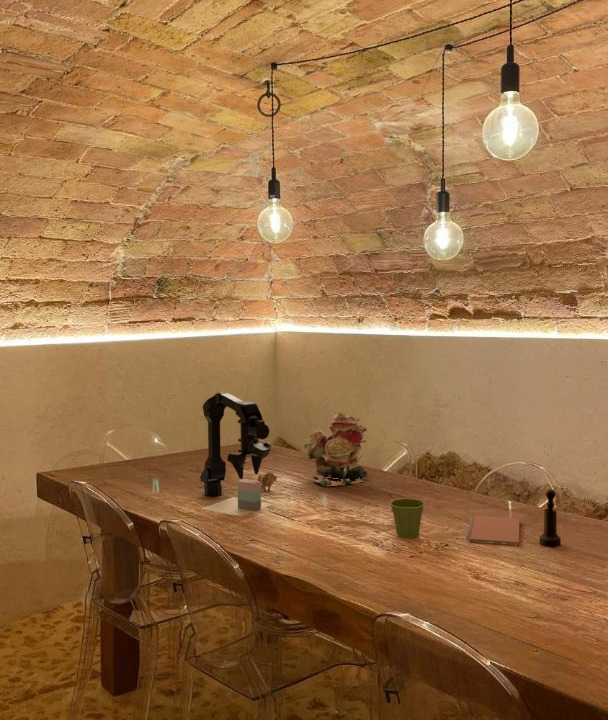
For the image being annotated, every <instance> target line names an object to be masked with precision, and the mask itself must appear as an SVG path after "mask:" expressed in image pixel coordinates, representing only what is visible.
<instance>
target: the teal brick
mask: <svg viewBox="0 0 608 720" xmlns="http://www.w3.org/2000/svg"><path fill="white" fill-rule="evenodd" d="M261 493H262V490H261V491H259V492H256V493H252V492H246V491H239V490H238V489H237V498H238V499H239V500H245V501H251V502H256V501H259V500H261V501H262V496H261V495H262V494H261Z"/></svg>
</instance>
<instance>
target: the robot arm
mask: <svg viewBox="0 0 608 720" xmlns="http://www.w3.org/2000/svg"><path fill="white" fill-rule="evenodd" d="M227 407H228V408H229V409H231V410H233V411H234V412H235V415H236V417H238V418H239V419H238V421H237V424H240V438H238V442H239V443H240V448H239V449H238V451H237V452H230V453H228V454H227V456H226V458H227V459H226V461H227V462H229V464H231V465H232V467H233V469H235V472H236V473H237V474H236V475H238V478H239V479H240V480H243V479H244V469H245V468H244V466H245V464H246V463H247V461H246V459H247V458H248V457H250V460H251V463H252V468H253V472H254V474H255V475H259V472H260V471H259V470H260V467H261V464H262V463H263V460H264V459H265V458H267V456H268V455H269V454H270V452H271V451H272V450H271V449H272V448H271V443H270V442H268V441H266V442H264V443H260V442H259V440H266V439H267V438H268V437H269V435H270V428H269V426H268V425H267V424H265V423H266V422H265V420H264V419H263V418H264V417H263V415H262V413H261V412H260V409H259V407H258V405H257V403H256V402H254V401H249V400H248V401H247V400H242V399H241V398H238V397H236V396H234V395H232V394H231V393H230V392H228V391H220V392H219V391H218V392H216V393H215V394H214V395H213V396H212V397H210V398H208V399H206V401H205V402H204V403H203V405H202V411H203V417H204V418H205V419H206V421H207V435H208V436H207V437H208V438H207V440H208V441H207V443H208V446H207V447H208V448H207V449H208V450H207V451H208V457H207V458H206V460H205V462H204V469H203V471H202V472H201V474H200V476H199V478H200V482H202V483H203V485H204V486H203V487H204V494H202V496H204V497H209V498H217V497H219V496H223V495H224V493H223V492H222V491H223V490H222V489H223V487H222V481H225V478H226V473H227V468H226V465H227V464H226V461H225V460H223V458H222V457H221V455H222V453H221V451H222V450H221V445H222V444H221V421H222V419H223V418H224V416H225V409H226V408H227Z"/></svg>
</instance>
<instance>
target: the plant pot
mask: <svg viewBox="0 0 608 720" xmlns="http://www.w3.org/2000/svg"><path fill="white" fill-rule="evenodd" d="M389 505H390V506H391V510H392V514H393V519H394V524H395V530H396V535H397V536H398V538H403V539H410V538H411V539H415V538H417V537H418V536H419V534H420V529H421V521H422V515H423V511H424V507H425V505H426V503H425V501H424V500H421V499H418V498H417V499H416V498H406V497H405V498H397V499H393V500H390V502H389Z"/></svg>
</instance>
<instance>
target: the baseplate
mask: <svg viewBox="0 0 608 720" xmlns="http://www.w3.org/2000/svg"><path fill="white" fill-rule="evenodd" d="M272 505H273V503H270V502H263V501H262V499H261V500H259V501H256V502H251V501H245V500H239V499H238V497H235V496H234V497H229V498H227V499H225V500H221V501H219V502H216V503H212V504H210V505H206V506H204V507H202V508H200V509H201V510H204V511H209V512H210V511H211V512H215V513H221V514H227V515H231V516H236V517H244V516H246V515H248V514H251V513H254V512H256V511H259V510H262V509H264V508H266V507H269V506H272Z"/></svg>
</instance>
